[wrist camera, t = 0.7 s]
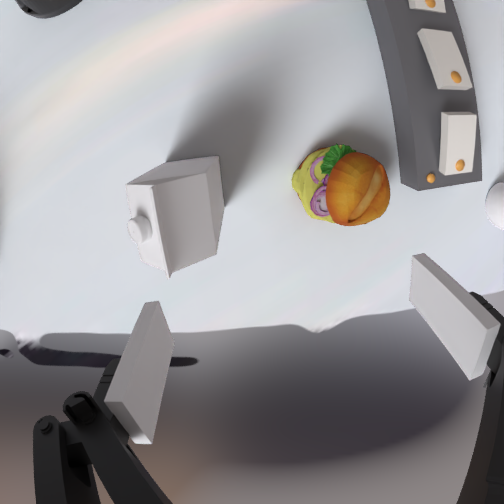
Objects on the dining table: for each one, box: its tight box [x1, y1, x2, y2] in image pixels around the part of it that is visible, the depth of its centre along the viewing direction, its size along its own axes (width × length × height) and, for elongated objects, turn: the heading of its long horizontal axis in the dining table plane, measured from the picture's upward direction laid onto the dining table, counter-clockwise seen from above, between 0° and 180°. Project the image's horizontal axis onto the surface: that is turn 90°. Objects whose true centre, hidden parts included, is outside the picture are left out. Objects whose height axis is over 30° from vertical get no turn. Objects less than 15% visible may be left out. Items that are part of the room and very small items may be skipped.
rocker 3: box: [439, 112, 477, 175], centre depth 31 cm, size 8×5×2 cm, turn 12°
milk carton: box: [125, 156, 224, 279], centre depth 31 cm, size 7×7×19 cm
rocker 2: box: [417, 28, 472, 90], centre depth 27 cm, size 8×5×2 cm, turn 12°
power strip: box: [366, 0, 482, 191], centre depth 30 cm, size 40×12×6 cm, turn 12°
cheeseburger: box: [292, 143, 390, 226], centre depth 37 cm, size 10×11×10 cm
